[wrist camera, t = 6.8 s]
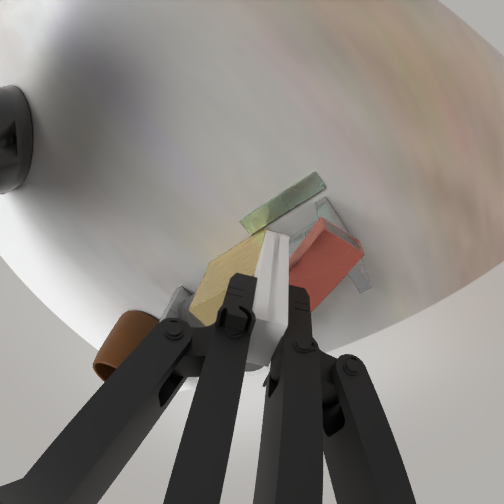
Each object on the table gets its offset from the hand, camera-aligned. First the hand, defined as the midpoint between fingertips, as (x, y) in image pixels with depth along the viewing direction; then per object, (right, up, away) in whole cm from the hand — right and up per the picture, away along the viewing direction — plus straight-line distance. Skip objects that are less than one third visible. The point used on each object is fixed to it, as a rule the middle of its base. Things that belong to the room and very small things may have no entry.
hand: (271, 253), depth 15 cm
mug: (-16, -12, +21) cm, 29 cm away
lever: (+1, -3, +2) cm, 4 cm away
